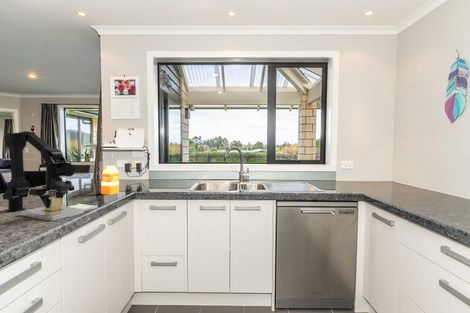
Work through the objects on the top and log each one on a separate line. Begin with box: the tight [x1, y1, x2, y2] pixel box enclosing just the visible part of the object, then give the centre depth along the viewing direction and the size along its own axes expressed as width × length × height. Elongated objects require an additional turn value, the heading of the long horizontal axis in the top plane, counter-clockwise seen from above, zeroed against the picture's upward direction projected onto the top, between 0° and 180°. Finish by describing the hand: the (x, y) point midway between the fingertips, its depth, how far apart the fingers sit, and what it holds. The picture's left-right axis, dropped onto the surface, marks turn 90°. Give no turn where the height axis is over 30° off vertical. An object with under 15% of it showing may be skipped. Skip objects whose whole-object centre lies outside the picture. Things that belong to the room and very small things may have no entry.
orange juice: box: [100, 165, 120, 195], centre depth 192 cm, size 8×9×20 cm
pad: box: [67, 203, 97, 212], centre depth 143 cm, size 12×10×1 cm
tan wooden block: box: [43, 196, 63, 212], centre depth 130 cm, size 5×5×8 cm
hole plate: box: [20, 205, 85, 222], centre depth 130 cm, size 22×16×2 cm
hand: (53, 207), depth 130 cm, fingers closed on tan wooden block, 5 cm apart
